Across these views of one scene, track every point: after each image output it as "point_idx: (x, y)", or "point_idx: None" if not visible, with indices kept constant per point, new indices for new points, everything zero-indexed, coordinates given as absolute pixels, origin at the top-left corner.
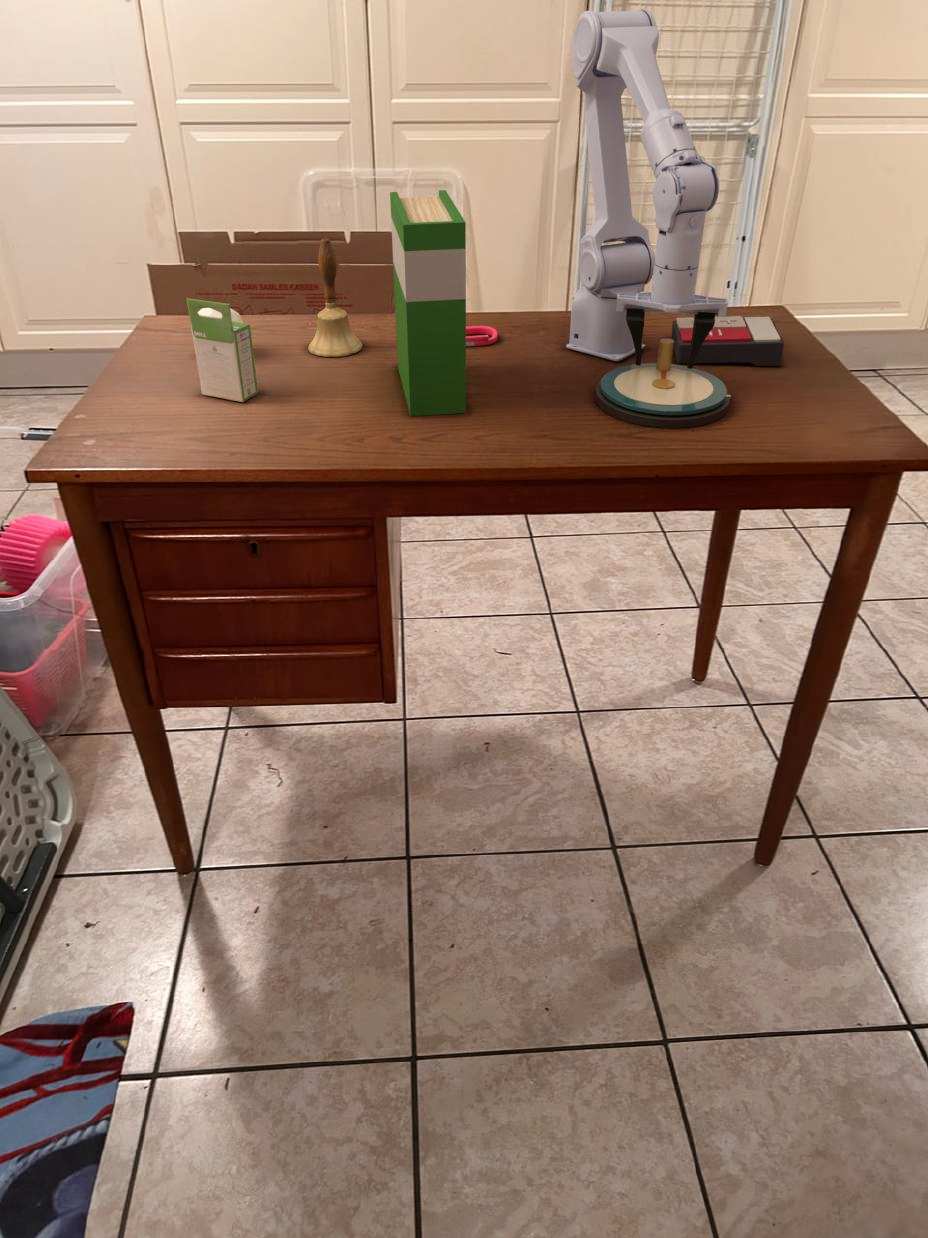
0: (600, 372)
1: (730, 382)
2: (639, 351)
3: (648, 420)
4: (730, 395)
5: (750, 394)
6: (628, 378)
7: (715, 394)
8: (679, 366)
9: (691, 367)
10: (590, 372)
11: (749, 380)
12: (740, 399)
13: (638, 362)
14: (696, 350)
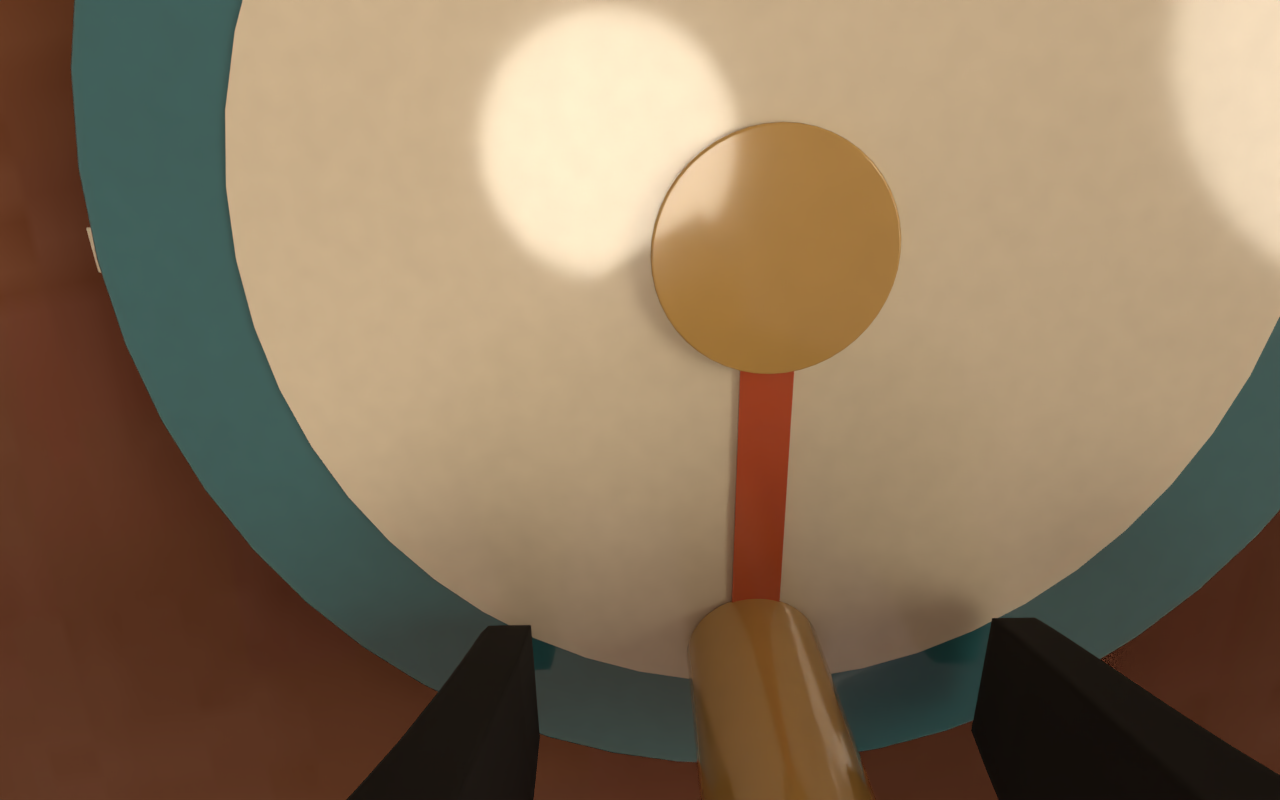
0: (1178, 691)
1: (223, 672)
2: (1120, 706)
3: None
4: (95, 259)
5: (29, 486)
6: (1125, 368)
7: (188, 93)
8: (607, 723)
9: (490, 627)
10: (1255, 680)
11: (97, 723)
12: (82, 374)
13: (1035, 630)
14: (409, 755)
